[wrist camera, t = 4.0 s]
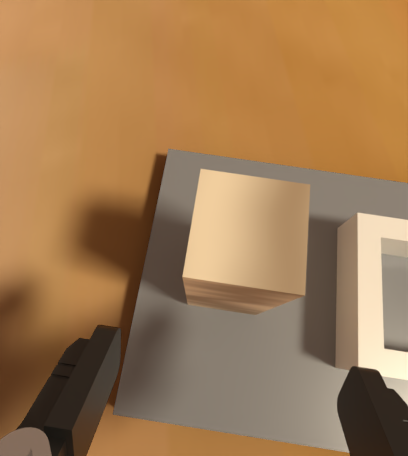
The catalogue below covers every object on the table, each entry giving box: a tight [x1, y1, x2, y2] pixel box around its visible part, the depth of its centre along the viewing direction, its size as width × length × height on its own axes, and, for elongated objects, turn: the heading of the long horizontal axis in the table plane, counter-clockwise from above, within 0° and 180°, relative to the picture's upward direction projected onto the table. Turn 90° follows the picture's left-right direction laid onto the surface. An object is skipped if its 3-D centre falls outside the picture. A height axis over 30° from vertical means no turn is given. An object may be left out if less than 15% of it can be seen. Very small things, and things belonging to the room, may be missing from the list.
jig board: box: [113, 149, 408, 452], centre depth 21 cm, size 25×18×4 cm
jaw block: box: [182, 169, 310, 315], centre depth 17 cm, size 4×4×10 cm
